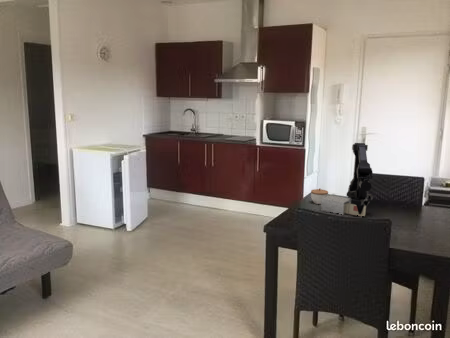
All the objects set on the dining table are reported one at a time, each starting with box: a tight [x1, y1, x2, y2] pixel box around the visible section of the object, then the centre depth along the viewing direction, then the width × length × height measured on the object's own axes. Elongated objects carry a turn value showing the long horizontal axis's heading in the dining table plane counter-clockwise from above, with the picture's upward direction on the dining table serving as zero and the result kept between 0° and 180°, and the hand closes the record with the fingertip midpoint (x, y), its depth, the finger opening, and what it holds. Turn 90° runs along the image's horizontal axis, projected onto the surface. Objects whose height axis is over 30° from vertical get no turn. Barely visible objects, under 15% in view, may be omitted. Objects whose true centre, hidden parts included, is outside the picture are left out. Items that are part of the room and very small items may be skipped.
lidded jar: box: [310, 188, 329, 205], centre depth 263 cm, size 11×11×9 cm
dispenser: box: [320, 194, 352, 216], centre depth 245 cm, size 11×15×8 cm
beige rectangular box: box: [345, 203, 367, 217], centre depth 241 cm, size 3×19×6 cm, turn 51°
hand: (360, 213), depth 236 cm, fingers closed on beige rectangular box, 3 cm apart
